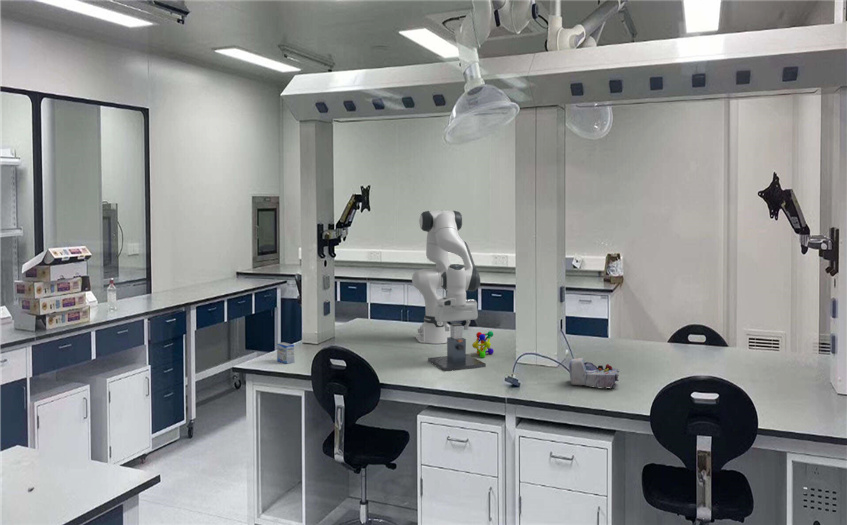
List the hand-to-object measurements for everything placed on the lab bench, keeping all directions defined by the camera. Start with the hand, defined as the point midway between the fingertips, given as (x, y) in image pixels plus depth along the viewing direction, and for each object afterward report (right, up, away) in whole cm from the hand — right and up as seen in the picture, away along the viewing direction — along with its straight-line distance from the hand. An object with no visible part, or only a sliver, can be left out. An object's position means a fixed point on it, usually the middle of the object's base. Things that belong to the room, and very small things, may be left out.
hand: (456, 330), depth 303 cm
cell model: (+54, -19, -33) cm, 66 cm away
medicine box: (-80, -16, +7) cm, 81 cm away
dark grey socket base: (0, -16, +2) cm, 16 cm away
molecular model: (+14, -14, +18) cm, 27 cm away
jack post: (0, -14, +2) cm, 14 cm away
